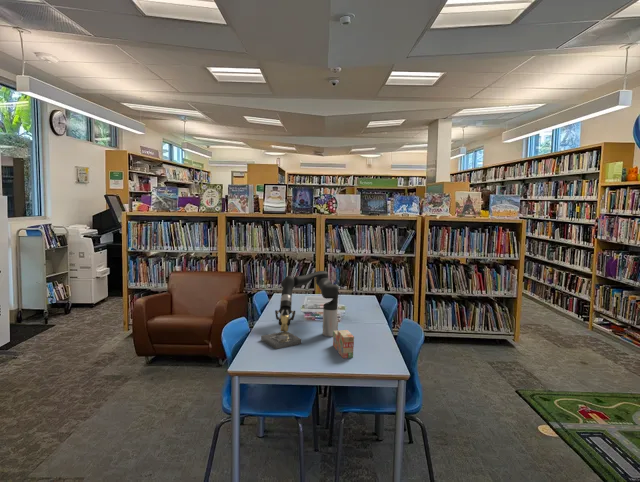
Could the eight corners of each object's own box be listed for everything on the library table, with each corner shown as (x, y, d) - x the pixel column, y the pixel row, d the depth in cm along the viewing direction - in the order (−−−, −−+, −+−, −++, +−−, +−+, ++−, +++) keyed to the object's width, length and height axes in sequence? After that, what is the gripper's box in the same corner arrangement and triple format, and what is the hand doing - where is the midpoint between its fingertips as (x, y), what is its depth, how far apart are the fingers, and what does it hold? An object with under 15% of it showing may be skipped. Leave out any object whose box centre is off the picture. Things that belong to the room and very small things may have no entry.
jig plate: (286, 335, 263) (286, 331, 262) (301, 343, 248) (301, 339, 248) (261, 340, 252) (261, 335, 252) (275, 349, 238) (275, 344, 237)
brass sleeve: (285, 328, 271) (286, 313, 270) (289, 330, 267) (290, 315, 266) (279, 329, 268) (279, 314, 267) (283, 332, 264) (283, 316, 263)
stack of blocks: (332, 345, 247) (333, 325, 246) (342, 345, 249) (343, 325, 248) (342, 358, 227) (343, 336, 226) (353, 357, 228) (354, 336, 227)
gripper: (296, 305, 280) (295, 328, 269) (275, 305, 279) (273, 327, 268) (296, 299, 274) (295, 322, 263) (275, 299, 274) (272, 321, 263)
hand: (284, 324), depth 266 cm, fingers closed on brass sleeve, 5 cm apart
